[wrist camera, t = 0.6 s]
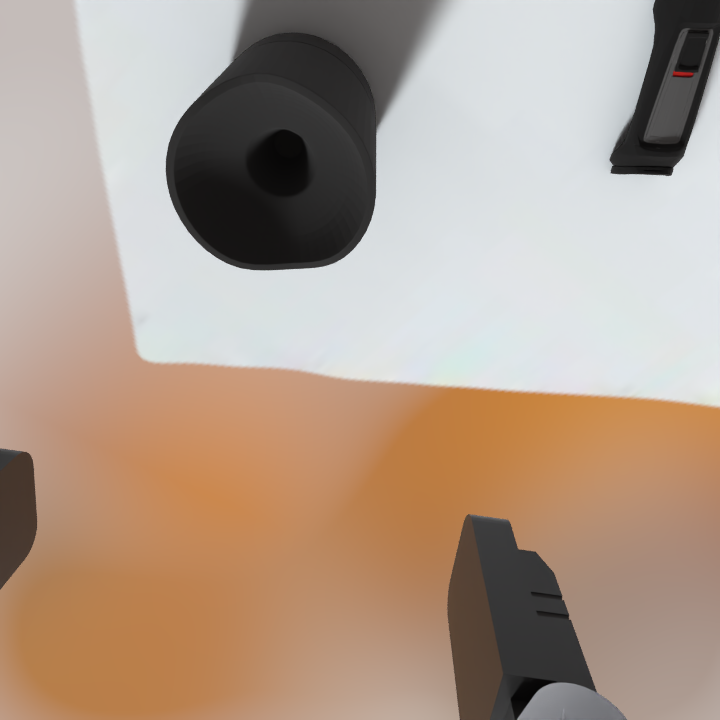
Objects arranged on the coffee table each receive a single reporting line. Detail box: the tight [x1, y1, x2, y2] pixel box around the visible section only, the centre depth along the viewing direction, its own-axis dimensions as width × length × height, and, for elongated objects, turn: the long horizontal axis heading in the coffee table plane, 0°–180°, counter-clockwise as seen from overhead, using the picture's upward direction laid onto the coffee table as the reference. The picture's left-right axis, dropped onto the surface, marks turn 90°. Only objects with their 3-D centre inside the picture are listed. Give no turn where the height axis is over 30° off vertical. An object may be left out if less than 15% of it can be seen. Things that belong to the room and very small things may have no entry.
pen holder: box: [166, 33, 376, 270], centre depth 32 cm, size 9×9×10 cm
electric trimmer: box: [610, 0, 720, 176], centre depth 31 cm, size 4×16×3 cm, turn 179°
